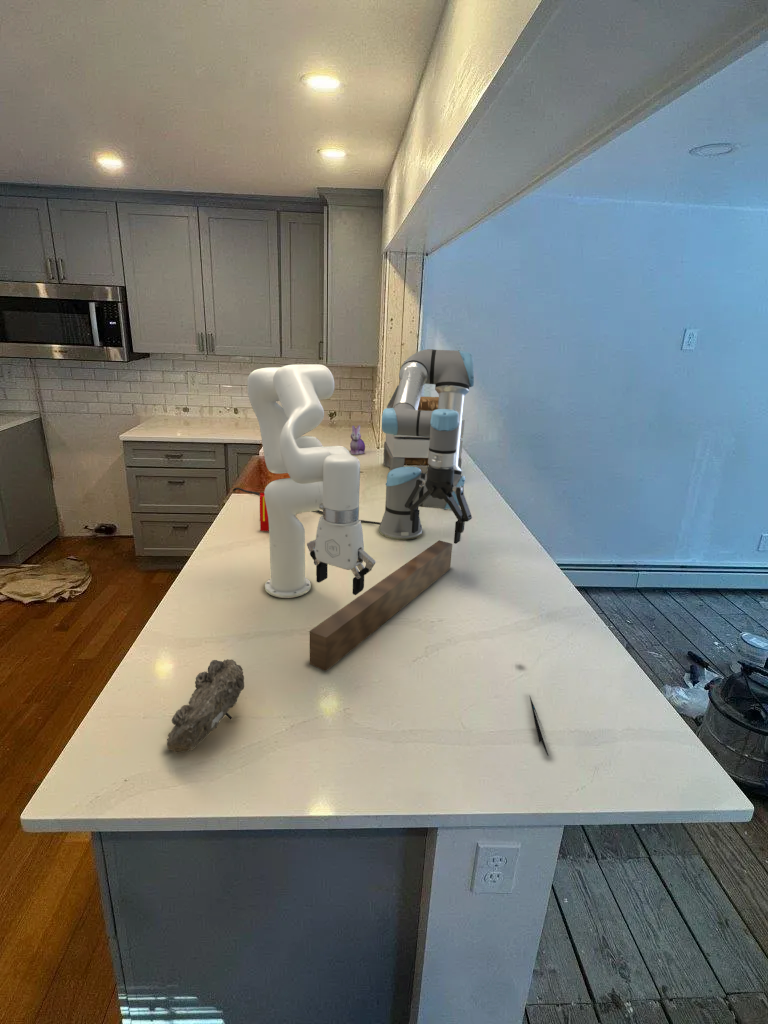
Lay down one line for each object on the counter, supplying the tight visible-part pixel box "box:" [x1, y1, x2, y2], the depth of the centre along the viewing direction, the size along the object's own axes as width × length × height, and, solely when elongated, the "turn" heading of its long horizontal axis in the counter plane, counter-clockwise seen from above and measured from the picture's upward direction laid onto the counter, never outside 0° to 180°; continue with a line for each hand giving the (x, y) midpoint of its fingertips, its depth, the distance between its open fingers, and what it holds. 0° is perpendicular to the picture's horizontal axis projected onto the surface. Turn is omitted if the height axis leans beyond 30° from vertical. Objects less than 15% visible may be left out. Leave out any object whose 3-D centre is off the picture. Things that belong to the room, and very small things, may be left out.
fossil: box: [166, 658, 245, 754], centre depth 106 cm, size 22×10×15 cm
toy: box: [259, 492, 269, 532], centre depth 208 cm, size 12×13×30 cm
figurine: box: [349, 424, 366, 456], centre depth 305 cm, size 9×10×15 cm
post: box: [309, 540, 453, 672], centre depth 149 cm, size 64×5×8 cm, turn 149°
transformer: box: [383, 384, 465, 472], centre depth 268 cm, size 34×33×41 cm
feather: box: [529, 696, 549, 756], centre depth 114 cm, size 2×28×2 cm
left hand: (339, 586), depth 125 cm, fingers open, 9 cm apart
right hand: (435, 536), depth 165 cm, fingers open, 13 cm apart
